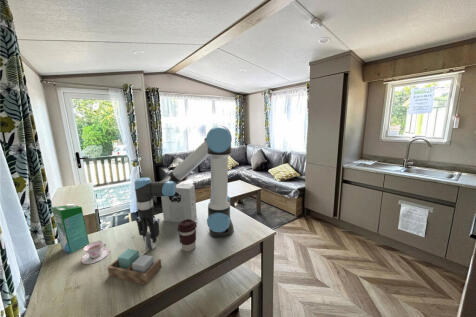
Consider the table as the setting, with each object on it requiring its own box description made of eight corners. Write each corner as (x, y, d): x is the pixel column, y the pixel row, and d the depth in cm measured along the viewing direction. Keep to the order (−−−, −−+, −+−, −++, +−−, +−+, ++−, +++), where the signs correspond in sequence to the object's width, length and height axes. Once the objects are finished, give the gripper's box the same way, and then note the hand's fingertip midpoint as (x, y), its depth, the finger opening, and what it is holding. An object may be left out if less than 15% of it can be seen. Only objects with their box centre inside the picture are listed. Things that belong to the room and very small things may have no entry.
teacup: (78, 268, 91) (75, 256, 89) (84, 252, 101) (82, 242, 100) (108, 259, 96) (106, 248, 95) (111, 245, 106) (109, 235, 105)
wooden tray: (161, 267, 89) (160, 258, 89) (146, 284, 80) (145, 275, 79) (127, 260, 95) (125, 252, 94) (109, 275, 85) (107, 267, 84)
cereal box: (197, 218, 134) (194, 184, 129) (192, 223, 126) (189, 188, 121) (169, 215, 139) (166, 183, 134) (163, 220, 131) (159, 186, 126)
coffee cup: (201, 243, 106) (199, 219, 103) (191, 255, 97) (189, 228, 94) (186, 240, 109) (184, 216, 106) (175, 251, 100) (172, 225, 97)
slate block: (154, 269, 88) (152, 256, 87) (145, 280, 82) (143, 266, 81) (143, 267, 90) (141, 254, 88) (134, 277, 84) (131, 263, 83)
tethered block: (157, 246, 104) (155, 232, 102) (130, 272, 87) (127, 255, 85) (148, 245, 106) (146, 230, 104) (120, 270, 88) (117, 253, 86)
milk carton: (89, 243, 108) (81, 203, 103) (70, 253, 100) (60, 210, 95) (80, 239, 112) (72, 200, 107) (61, 249, 104) (51, 207, 99)
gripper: (163, 205, 100) (168, 244, 105) (138, 202, 104) (143, 240, 109) (154, 212, 93) (159, 253, 98) (127, 208, 97) (133, 249, 102)
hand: (150, 246), depth 103 cm, fingers closed on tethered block, 3 cm apart
